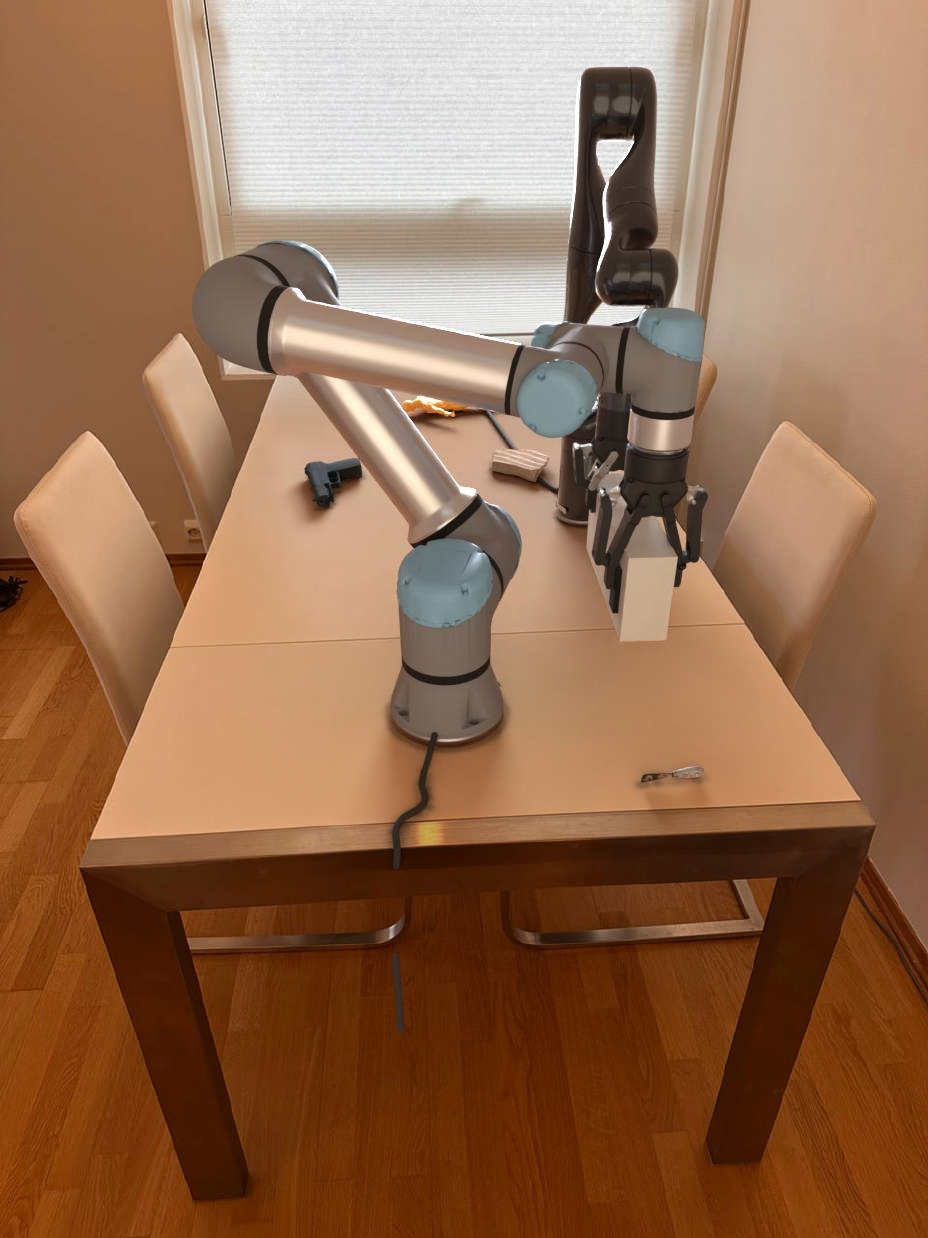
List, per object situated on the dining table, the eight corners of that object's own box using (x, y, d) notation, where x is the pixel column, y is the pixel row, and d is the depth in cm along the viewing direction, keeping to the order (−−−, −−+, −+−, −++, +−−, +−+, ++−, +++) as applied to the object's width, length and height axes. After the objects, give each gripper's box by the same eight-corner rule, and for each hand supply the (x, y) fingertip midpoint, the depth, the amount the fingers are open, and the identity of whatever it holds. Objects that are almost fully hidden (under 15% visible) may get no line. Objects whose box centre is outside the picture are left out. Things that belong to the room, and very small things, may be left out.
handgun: (373, 502, 179) (314, 510, 176) (359, 469, 193) (303, 475, 190) (373, 488, 177) (312, 495, 174) (358, 455, 191) (301, 461, 188)
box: (666, 640, 118) (678, 557, 112) (619, 641, 118) (628, 558, 111) (625, 546, 141) (632, 472, 135) (586, 547, 141) (591, 473, 134)
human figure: (395, 413, 223) (394, 398, 221) (438, 390, 237) (438, 375, 235) (462, 429, 215) (462, 413, 213) (502, 404, 229) (503, 388, 227)
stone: (554, 462, 195) (554, 451, 194) (536, 482, 186) (537, 471, 185) (499, 454, 200) (499, 444, 198) (479, 474, 190) (479, 463, 189)
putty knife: (703, 777, 109) (705, 767, 109) (642, 788, 108) (644, 777, 107) (700, 772, 110) (702, 762, 109) (639, 782, 109) (640, 771, 108)
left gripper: (727, 431, 111) (702, 591, 123) (574, 434, 110) (563, 595, 123) (746, 453, 105) (717, 620, 117) (584, 457, 104) (572, 624, 116)
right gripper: (669, 391, 128) (656, 498, 137) (569, 393, 128) (563, 501, 136) (682, 408, 122) (668, 519, 131) (577, 410, 121) (570, 522, 130)
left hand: (639, 607), depth 120 cm, fingers closed on box, 6 cm apart
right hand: (614, 509), depth 134 cm, fingers closed on box, 6 cm apart
